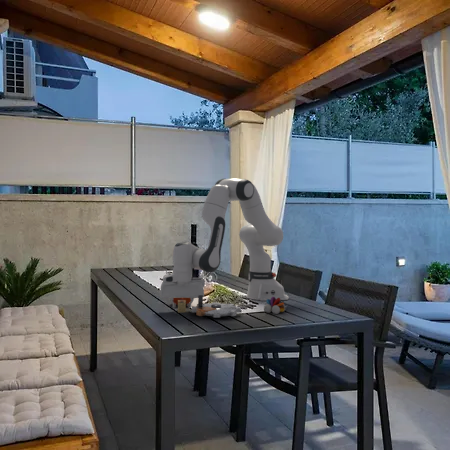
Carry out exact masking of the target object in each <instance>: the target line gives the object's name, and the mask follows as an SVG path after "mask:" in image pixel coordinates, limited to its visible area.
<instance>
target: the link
mask: <svg viewBox="0 0 450 450" xmlns="http://www.w3.org/2000/svg"><path fill="white" fill-rule="evenodd" d="M186 311H187V304H186V300H178V305H177V313H186Z"/></svg>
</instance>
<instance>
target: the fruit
mask: <svg viewBox="0 0 450 450" xmlns="http://www.w3.org/2000/svg"><path fill="white" fill-rule="evenodd" d="M178 300H186V305H188V303H190V301H191V300H190V298H173V302H174V303H176V306H178Z"/></svg>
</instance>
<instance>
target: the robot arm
mask: <svg viewBox="0 0 450 450" xmlns="http://www.w3.org/2000/svg"><path fill="white" fill-rule="evenodd" d="M258 191H259V190H258V189H257V187H256V185H255V184H253V182H252V181H250V180H249V179H246V178H236V177H233V178H221V179H218V180H217V181H216V182H215V183H214V185H213V186H211V188H210V190H209V191H208V194H207V195H206V198H205V201H204V203H203V206H202V209H201V210H202V211H201V217H202V220H203V221H204V223H206V224H207V225H208V226H209V227H210V235H209V241H208V245H207V248H206V249H204V248H200V247H198V246H196V245H194V244H193V243H191V242H190V241H179V242H177V243H175V245H174V247H173V252H172V254H173V255H172V263H173V268H172V273H168V274H166V275H163V276H162V282H161V285H160V288H159V289H160V290H159V297H160V298H162V299H165V298H166V299H169V298H170V299H169V300H170V302H171V304H172V308H173V309H174V308H177V305H176V303H174V302H173V298H190V300H191V301H190V303H188V304H187V308H188V309H189V308H190V309H192V303H193V302H194V298H195V299H198V296H199V295H202V296H203V298H204V297H205V289H204V287H205V285H206V280H205V278H203V277H200V276H199V277H196V276H195V277H193V269H196V270H199V271H202V272H203V271H204V272H206V273H214V272H215V271H217V270H218V268H220V265H221V256H222V255H221V254H222V253H221V251H222V247H223V241H224V237H225V231H226V213H227V209H228V207H229V202H230V201H232V202H233V201H234V202H235V201H237V202H238V201H239V205H240V209H241V212H242V214H243V218H244V220H245V221H246V222H247V223H248V224H246V225H243V226H242V227H241V228H240V230H239V234H238V235H239V239H240V242H242V243H243V244H244V245H245V247H246V249H247V253H248V254H249V255H248V256H249V271H248V281H249V282H248V288H247V292H246V295H245V296H246V298H247V299H250V300H254V301H255V300H257V301H262V302H263V301H264V302H266V300H267V299H270V300H271V298H272V297H275V298H276V299H277V298H280V301H288V300H289V299H290V298H289V297H290V296H288V295H287V294H285V289H284V286H283V285H282V284H281V283H280V282H278V281H277V280H276V279H275V278H276V277H277V273H276V272H273V271H271V267H272V266H271V265H272V262H271V261H272V259H271V256H270V254H269V253H267V252H266V251H265V249H264V247H274V246H279V245H280V244H281V243H282V242H283V240H284V231H283V230H282V228H281V227H280V226H278V225H277V224H275V223H274V222H273V221H272V220H271V219H270V218H269V216H268V215H267V212H266V211H265V208H264V206H263V202H262V199H261V196H260V194H259V192H258Z"/></svg>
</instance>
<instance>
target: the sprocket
mask: <svg viewBox="0 0 450 450" xmlns="http://www.w3.org/2000/svg"><path fill="white" fill-rule="evenodd" d="M203 298H204V297H203V296H202V295H199V296H198V298H197V299H198V300H197V303H196V306H193V305H191V313H196V316H199V317H203V316H205V317H212V318H221V317H228V316H229V317H236V316H237V314H241V312H242V311H241V306H235V304H234V303H219V302H215V301H214V302H211V303H203V302H204V299H203Z"/></svg>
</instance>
